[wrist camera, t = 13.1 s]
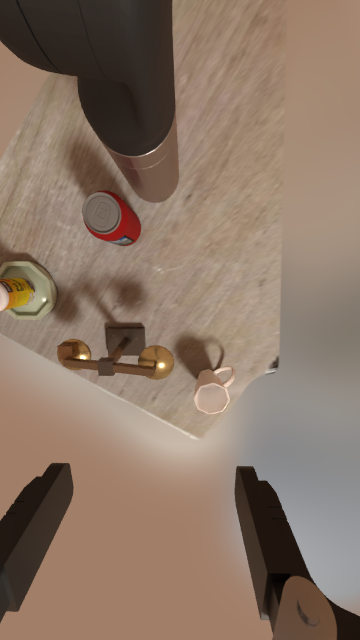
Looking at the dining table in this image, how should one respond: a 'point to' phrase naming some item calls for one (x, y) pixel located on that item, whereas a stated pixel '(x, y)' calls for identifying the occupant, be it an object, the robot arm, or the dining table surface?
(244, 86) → the dining table surface
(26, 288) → the supplement bottle
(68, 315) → the dining table surface
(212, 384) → the cup
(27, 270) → the dish
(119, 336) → the balance
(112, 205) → the beverage can
